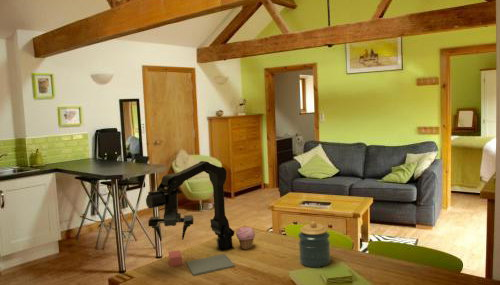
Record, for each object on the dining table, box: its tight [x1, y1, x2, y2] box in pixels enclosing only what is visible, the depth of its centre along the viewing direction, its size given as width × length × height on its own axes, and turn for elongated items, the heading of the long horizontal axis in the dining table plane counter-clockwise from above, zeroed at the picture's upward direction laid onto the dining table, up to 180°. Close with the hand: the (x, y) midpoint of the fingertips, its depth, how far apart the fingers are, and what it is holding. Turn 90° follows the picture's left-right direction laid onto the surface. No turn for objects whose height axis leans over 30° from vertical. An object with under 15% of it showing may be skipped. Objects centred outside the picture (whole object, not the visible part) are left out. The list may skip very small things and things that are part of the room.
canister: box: [297, 220, 332, 268], centre depth 173 cm, size 13×13×18 cm
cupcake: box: [236, 226, 256, 250], centre depth 194 cm, size 9×9×10 cm
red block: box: [167, 249, 183, 267], centre depth 183 cm, size 5×8×4 cm, turn 16°
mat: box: [185, 253, 236, 277], centre depth 177 cm, size 18×14×1 cm
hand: (171, 240), depth 176 cm, fingers open, 9 cm apart
